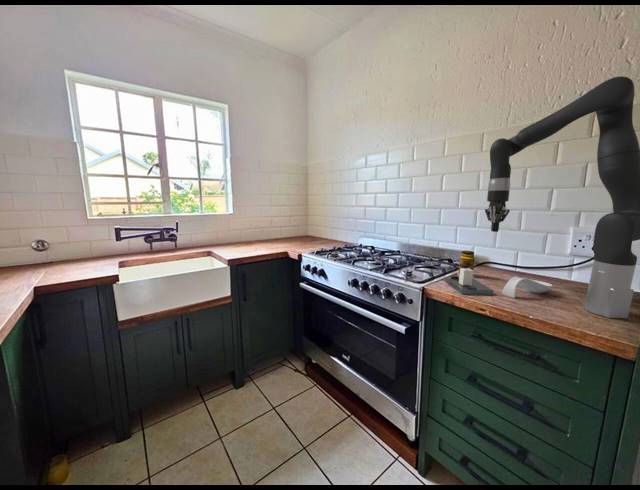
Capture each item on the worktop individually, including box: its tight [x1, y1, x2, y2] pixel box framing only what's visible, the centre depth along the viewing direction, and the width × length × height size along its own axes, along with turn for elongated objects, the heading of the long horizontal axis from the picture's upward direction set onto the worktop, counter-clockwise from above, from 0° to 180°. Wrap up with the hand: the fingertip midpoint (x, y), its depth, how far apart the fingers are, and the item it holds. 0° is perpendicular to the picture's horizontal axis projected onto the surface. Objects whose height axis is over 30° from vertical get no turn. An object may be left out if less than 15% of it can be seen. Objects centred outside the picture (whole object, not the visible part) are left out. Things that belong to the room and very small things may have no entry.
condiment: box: [456, 250, 476, 279], centre depth 131 cm, size 7×8×12 cm
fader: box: [459, 268, 474, 286], centre depth 110 cm, size 3×4×6 cm
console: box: [444, 275, 495, 296], centre depth 113 cm, size 16×12×3 cm
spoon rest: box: [501, 276, 554, 299], centre depth 108 cm, size 24×12×7 cm, turn 118°
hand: (494, 231), depth 114 cm, fingers closed
